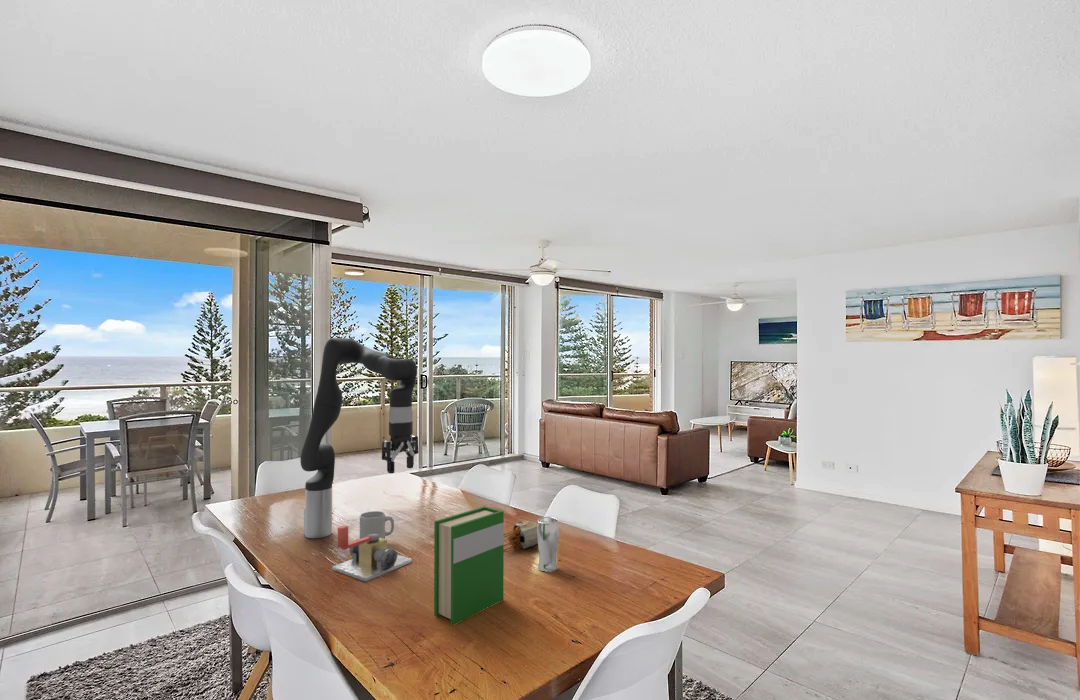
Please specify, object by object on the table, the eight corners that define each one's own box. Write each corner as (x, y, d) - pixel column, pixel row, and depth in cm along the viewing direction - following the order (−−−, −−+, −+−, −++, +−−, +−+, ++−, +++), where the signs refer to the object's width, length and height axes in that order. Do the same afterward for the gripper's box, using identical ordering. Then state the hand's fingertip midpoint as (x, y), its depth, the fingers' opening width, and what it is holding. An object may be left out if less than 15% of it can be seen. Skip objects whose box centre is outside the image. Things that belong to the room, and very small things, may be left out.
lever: (374, 536, 168) (374, 515, 168) (381, 538, 166) (381, 517, 166) (334, 550, 156) (334, 527, 156) (342, 552, 154) (342, 529, 154)
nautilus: (511, 562, 170) (482, 552, 180) (555, 541, 186) (526, 533, 196) (509, 537, 170) (480, 529, 180) (554, 518, 186) (524, 512, 196)
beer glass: (561, 565, 166) (561, 518, 166) (555, 574, 159) (555, 524, 159) (540, 562, 168) (540, 515, 168) (533, 571, 161) (533, 522, 161)
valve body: (332, 569, 162) (332, 543, 162) (379, 551, 177) (379, 528, 177) (365, 581, 153) (365, 554, 154) (412, 562, 168) (412, 537, 169)
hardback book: (453, 625, 128) (453, 527, 129) (434, 615, 133) (434, 521, 134) (503, 600, 142) (503, 511, 142) (484, 592, 147) (484, 506, 147)
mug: (364, 552, 177) (364, 519, 177) (356, 545, 184) (356, 513, 184) (398, 544, 184) (398, 513, 184) (389, 538, 191) (389, 508, 191)
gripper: (407, 417, 178) (407, 465, 178) (375, 422, 166) (375, 473, 165) (424, 418, 174) (424, 467, 174) (393, 423, 162) (393, 476, 162)
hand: (400, 470), depth 170 cm, fingers open, 8 cm apart
